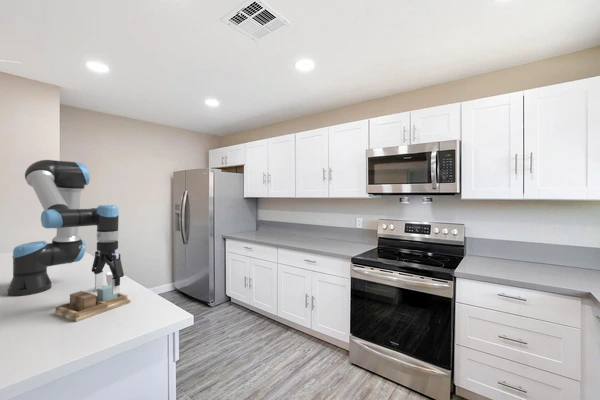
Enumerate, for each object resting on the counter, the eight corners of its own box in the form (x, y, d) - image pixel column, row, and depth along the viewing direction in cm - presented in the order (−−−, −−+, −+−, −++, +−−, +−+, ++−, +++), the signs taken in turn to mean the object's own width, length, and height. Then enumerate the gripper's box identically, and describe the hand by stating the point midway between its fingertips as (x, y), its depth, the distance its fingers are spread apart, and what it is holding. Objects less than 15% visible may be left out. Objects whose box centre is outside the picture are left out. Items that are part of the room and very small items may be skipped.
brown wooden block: (69, 309, 107) (69, 294, 107) (81, 305, 111) (81, 291, 111) (84, 313, 103) (84, 298, 103) (95, 309, 107) (95, 294, 107)
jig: (55, 314, 105) (55, 306, 105) (109, 297, 123) (109, 290, 123) (76, 321, 99) (76, 313, 99) (130, 302, 117) (130, 295, 117)
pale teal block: (97, 302, 114) (97, 288, 114) (112, 297, 119) (112, 284, 119) (102, 304, 112) (102, 290, 112) (117, 299, 118) (117, 285, 117)
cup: (106, 292, 130) (106, 275, 129) (104, 286, 137) (104, 271, 137) (123, 289, 134) (123, 273, 134) (120, 284, 142) (120, 268, 142)
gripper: (82, 239, 117) (81, 288, 117) (115, 245, 107) (115, 298, 108) (100, 237, 124) (100, 283, 124) (134, 242, 114) (133, 292, 114)
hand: (107, 290), depth 116 cm, fingers open, 11 cm apart
